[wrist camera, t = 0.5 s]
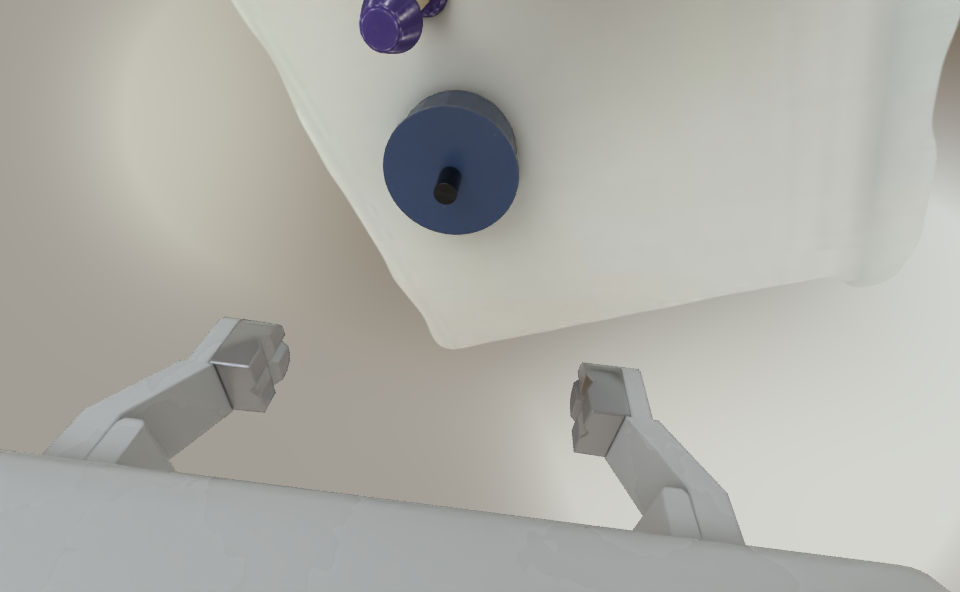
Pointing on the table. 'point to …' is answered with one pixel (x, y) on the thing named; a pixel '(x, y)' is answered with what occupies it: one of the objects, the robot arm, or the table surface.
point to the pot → (472, 103)
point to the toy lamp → (395, 23)
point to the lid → (451, 169)
